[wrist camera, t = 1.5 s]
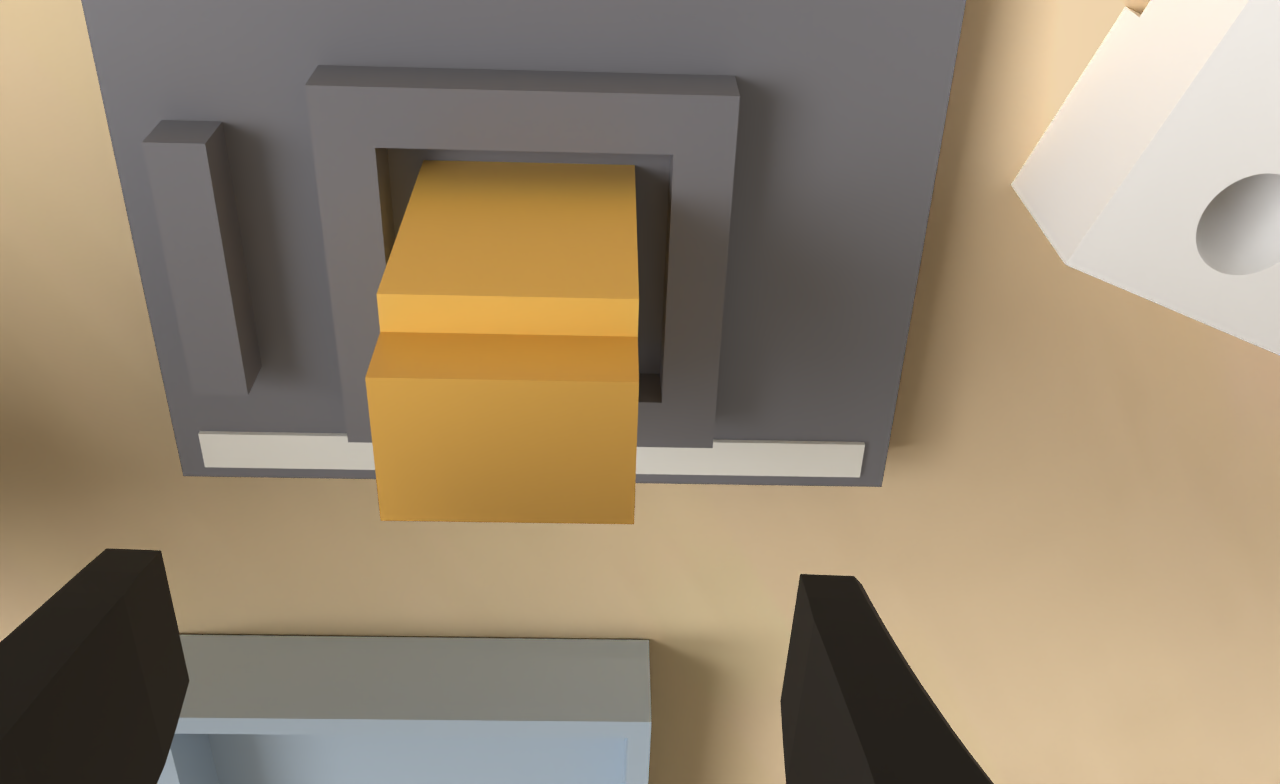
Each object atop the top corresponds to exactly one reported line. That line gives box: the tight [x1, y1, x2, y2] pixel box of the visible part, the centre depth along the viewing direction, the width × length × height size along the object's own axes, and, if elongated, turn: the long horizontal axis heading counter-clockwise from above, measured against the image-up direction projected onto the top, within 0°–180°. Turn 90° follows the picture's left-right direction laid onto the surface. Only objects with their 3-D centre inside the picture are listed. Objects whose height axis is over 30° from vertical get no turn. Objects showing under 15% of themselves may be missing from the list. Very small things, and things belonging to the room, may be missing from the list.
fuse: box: [365, 160, 639, 524], centre depth 19 cm, size 4×4×6 cm
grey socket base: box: [81, 0, 966, 487], centre depth 22 cm, size 14×10×2 cm
